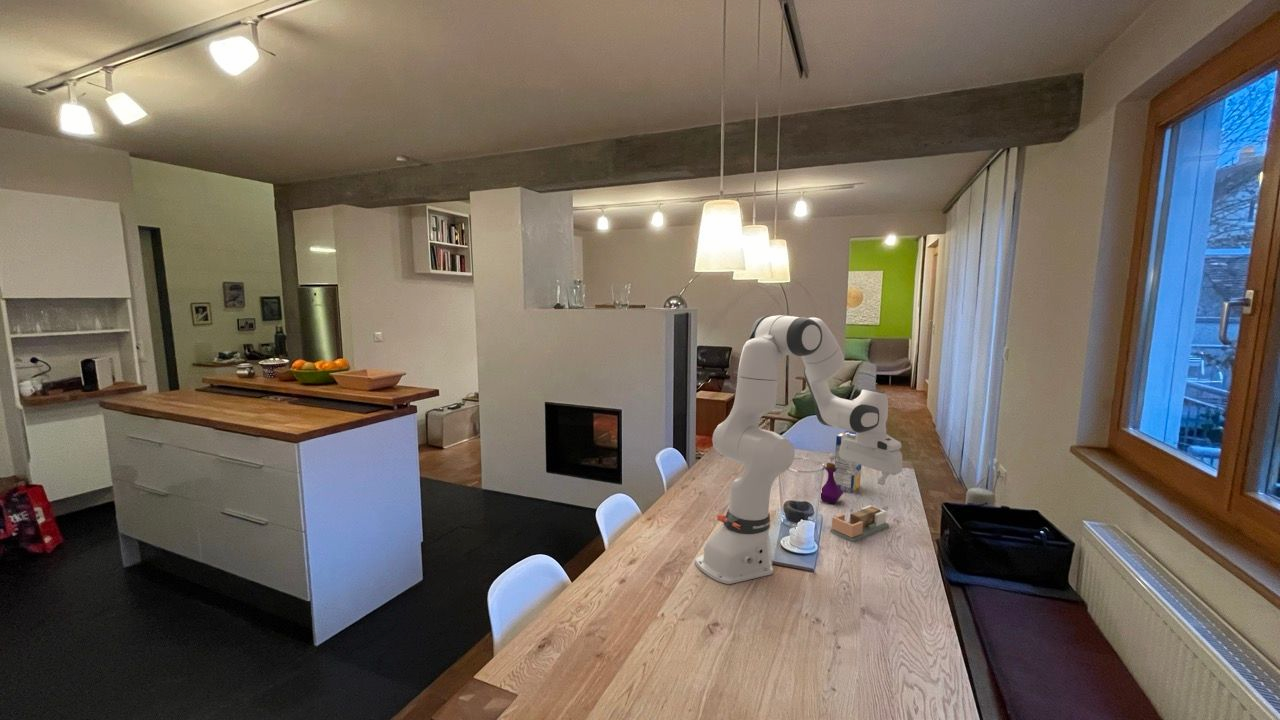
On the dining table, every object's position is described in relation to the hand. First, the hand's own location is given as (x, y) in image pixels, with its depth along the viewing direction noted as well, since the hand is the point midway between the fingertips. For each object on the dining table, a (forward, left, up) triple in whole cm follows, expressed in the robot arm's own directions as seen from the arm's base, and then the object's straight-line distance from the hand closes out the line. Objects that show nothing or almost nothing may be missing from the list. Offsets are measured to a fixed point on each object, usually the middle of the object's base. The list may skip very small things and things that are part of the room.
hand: (867, 479), depth 160 cm
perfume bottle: (+10, +20, -17) cm, 28 cm away
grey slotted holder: (-2, 0, -17) cm, 17 cm away
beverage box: (+28, +25, -17) cm, 41 cm away
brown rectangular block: (0, 0, -16) cm, 16 cm away
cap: (-10, 0, -15) cm, 18 cm away
